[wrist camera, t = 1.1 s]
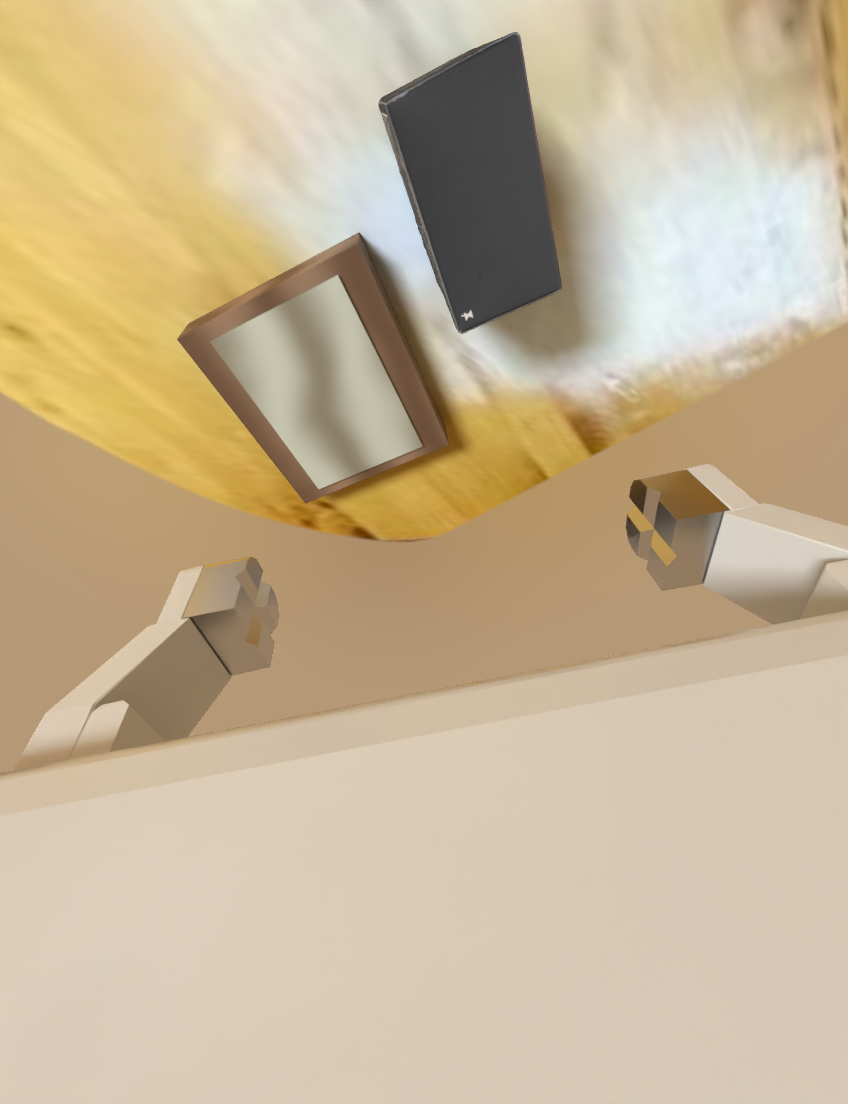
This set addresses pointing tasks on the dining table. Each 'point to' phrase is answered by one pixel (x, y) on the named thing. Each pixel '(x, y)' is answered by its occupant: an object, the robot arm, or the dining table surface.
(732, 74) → the dining table surface
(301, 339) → the walnut picture frame
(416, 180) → the small box
